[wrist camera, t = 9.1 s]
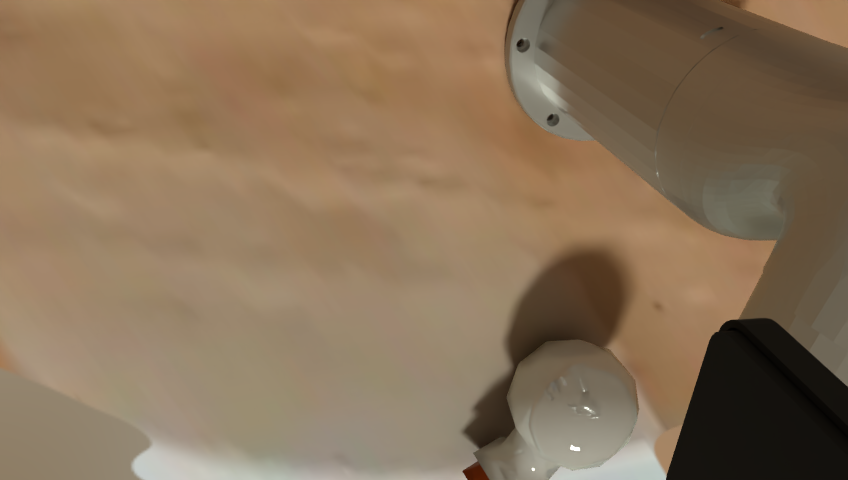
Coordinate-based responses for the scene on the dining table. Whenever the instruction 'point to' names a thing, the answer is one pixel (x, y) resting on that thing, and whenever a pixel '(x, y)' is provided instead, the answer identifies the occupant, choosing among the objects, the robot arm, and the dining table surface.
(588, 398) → the potion bottle
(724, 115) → the robot arm
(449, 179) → the dining table surface
